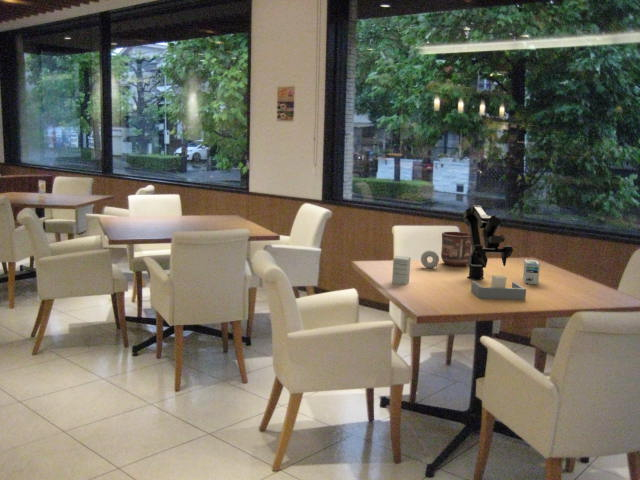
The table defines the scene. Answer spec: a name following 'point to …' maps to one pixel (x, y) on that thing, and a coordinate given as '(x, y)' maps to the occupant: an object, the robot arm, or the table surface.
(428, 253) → the grey ring
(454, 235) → the pottery
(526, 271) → the light bulb box
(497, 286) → the cream block
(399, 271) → the supplement box
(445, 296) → the table surface
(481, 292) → the open-front crate
